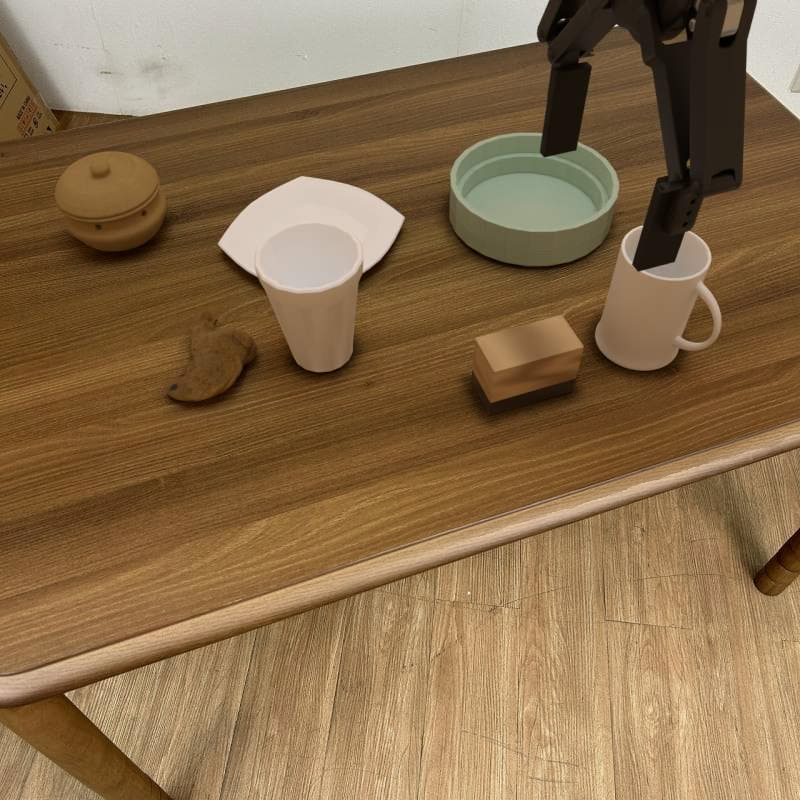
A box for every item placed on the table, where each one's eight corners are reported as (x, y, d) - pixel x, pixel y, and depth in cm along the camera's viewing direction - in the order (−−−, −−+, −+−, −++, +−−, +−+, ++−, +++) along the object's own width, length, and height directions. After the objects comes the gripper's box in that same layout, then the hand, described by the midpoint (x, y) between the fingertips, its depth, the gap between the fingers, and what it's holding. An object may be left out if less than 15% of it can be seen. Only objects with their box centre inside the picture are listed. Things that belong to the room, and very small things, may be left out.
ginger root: (210, 321, 80) (202, 296, 78) (275, 364, 76) (269, 339, 73) (137, 375, 76) (126, 350, 73) (202, 424, 72) (193, 400, 69)
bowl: (632, 198, 93) (642, 160, 88) (571, 291, 82) (580, 252, 78) (492, 155, 99) (496, 117, 95) (419, 236, 89) (420, 197, 85)
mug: (720, 368, 75) (764, 278, 65) (660, 405, 72) (696, 317, 63) (636, 301, 81) (665, 210, 72) (577, 332, 78) (599, 242, 69)
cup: (338, 403, 73) (325, 306, 63) (255, 367, 76) (230, 269, 66) (388, 337, 78) (384, 239, 68) (309, 306, 82) (294, 208, 71)
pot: (126, 193, 95) (99, 122, 87) (194, 223, 91) (173, 151, 83) (54, 244, 89) (19, 172, 81) (124, 278, 85) (94, 206, 77)
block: (552, 359, 76) (562, 314, 71) (572, 391, 73) (584, 346, 68) (470, 382, 74) (474, 337, 69) (488, 416, 72) (494, 372, 67)
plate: (425, 226, 90) (426, 213, 88) (330, 322, 80) (328, 309, 78) (301, 177, 97) (299, 163, 95) (198, 259, 87) (194, 246, 85)
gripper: (507, -220, 42) (482, 122, 59) (787, -62, 27) (648, 337, 44) (624, -233, 44) (568, 104, 60) (950, -91, 29) (756, 306, 45)
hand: (601, 203), depth 52 cm, fingers open, 13 cm apart
